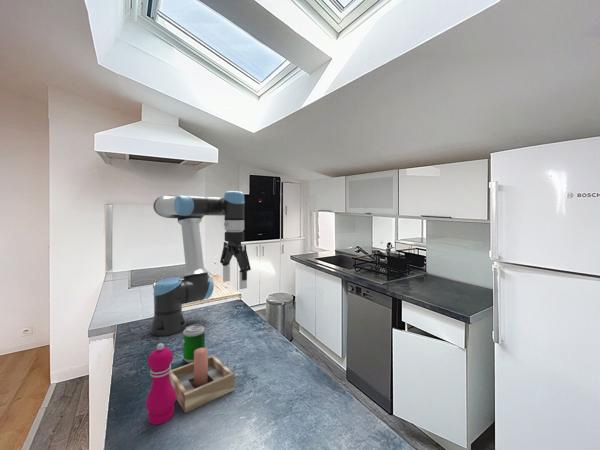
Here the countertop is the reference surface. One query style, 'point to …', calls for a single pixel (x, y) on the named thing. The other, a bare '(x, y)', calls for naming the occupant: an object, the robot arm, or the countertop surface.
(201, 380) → the peg
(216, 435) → the countertop surface
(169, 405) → the pepper mill
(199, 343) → the soda can
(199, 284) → the robot arm
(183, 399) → the box
